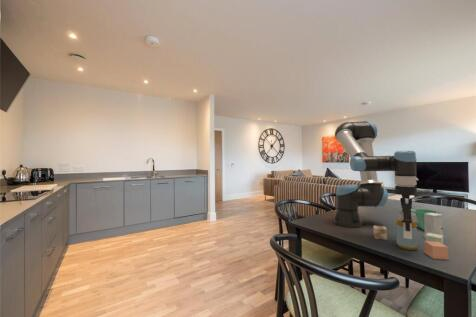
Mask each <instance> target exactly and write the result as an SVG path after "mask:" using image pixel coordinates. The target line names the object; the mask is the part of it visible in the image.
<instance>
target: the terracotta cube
mask: <svg viewBox="0 0 476 317" xmlns="http://www.w3.org/2000/svg"><path fill="white" fill-rule="evenodd" d="M423 245H424V254H425V255H427V256H429V257H430V258H431V259H434V260H449V246H446V245H445V244H444V243H443V244H441V243H440V242H431V241H426V240H424V244H423Z"/></svg>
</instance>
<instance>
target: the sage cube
mask: <svg viewBox="0 0 476 317" xmlns="http://www.w3.org/2000/svg"><path fill="white" fill-rule="evenodd" d="M425 241H431V242H440V243H441V244H443V245H444V234H443V235H438V234H433V233H427V234H426V238H425Z"/></svg>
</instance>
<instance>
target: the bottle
mask: <svg viewBox="0 0 476 317" xmlns="http://www.w3.org/2000/svg"><path fill="white" fill-rule="evenodd" d="M396 214H397V215H396V216H397V221H396V222H395V223H396V226H395V228H396V245H397V247H399V248H400V249H403V250H407V251H415V250H417V249H418V228H417V227H418V226H417V225H416V223H415V221H416V213H414V212H411V219H412V239H407V238H404V234H403V222H401V220H404V217H403V212H402V211H397V213H396ZM407 220H408V219H407Z"/></svg>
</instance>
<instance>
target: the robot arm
mask: <svg viewBox="0 0 476 317" xmlns="http://www.w3.org/2000/svg"><path fill="white" fill-rule="evenodd" d="M334 137H335V139H336V140H337V142H338V143H340V145H341V146H342V147H343V149H344V150H345V152H346V153H347V155H348V157H349V158H350V160H349V166H350V169H351V171H354V172H359V175H360V182H359V184H354V183H353V184H352V183H351V184H350V183H349V184H343V185H342V184H341V185H339V186H337V187H336V190H335V191H336V192H335V195H336V196H335V197H336V211H335V214H334V217H333V223H334V224H335V225H338V226H339V227H344V228H361V227H362V226H363V220H362V218H361V216H360V213H359V207H360V208H363V207H366V208H367V207H368V208H372V207H373V208H378V207H379V208H381V207H384V206H386V205H387V202H388V199H389V193H388V190H387V188H386V187H385V186H382V183H381V181H379V180H378V173H377V172H394V185H395V186H394V192H395V193H394V194H396V195H399V196H400V195H401V197H400V199H399V200H400V207H401V212H403V217H404V220H401V222H403V234H404V238H407V239H412V219H411V213H412V212H411V209H412V208H413V207H412V206H413V205H412V204H413V199H412V198H410V197H411V196H416V195H418V187H417V184H418V183H417V181H419V178H418V177H417V154H416V151H414V150H397V151H395V152H394V154H393V155H374V149H373V142H375V139H376V138H377V137H378V128H377V125H376V123H374V122H373V121H368V120H364V121H363V120H362V121H346V122H343V123H341V124H339V125H338V126H337V127H336V129H335V132H334ZM407 219H408V220H407Z"/></svg>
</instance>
